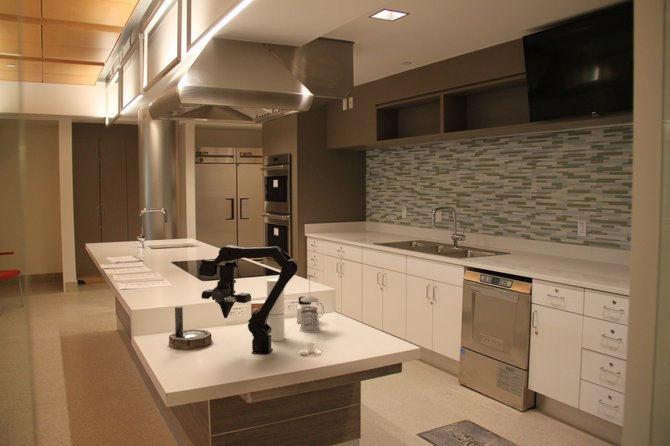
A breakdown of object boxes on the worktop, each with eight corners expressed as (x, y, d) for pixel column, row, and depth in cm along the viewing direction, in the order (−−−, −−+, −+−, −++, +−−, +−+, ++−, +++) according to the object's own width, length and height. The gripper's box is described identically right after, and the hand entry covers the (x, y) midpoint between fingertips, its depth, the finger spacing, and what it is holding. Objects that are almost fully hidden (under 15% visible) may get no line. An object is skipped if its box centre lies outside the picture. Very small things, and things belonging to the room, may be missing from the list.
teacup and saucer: (300, 357, 201) (300, 347, 201) (296, 351, 209) (296, 341, 209) (323, 355, 204) (323, 345, 203) (318, 349, 211) (318, 339, 211)
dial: (210, 341, 217) (209, 307, 217) (179, 346, 211) (178, 310, 210) (200, 334, 228) (200, 301, 227) (170, 338, 221) (170, 305, 221)
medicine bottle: (312, 323, 252) (311, 298, 251) (296, 323, 252) (296, 298, 251) (312, 319, 259) (312, 295, 258) (298, 319, 259) (298, 295, 258)
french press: (295, 328, 242) (295, 273, 241) (319, 325, 247) (318, 272, 246) (303, 333, 233) (303, 276, 232) (327, 330, 238) (327, 275, 237)
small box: (251, 332, 236) (250, 303, 235) (251, 329, 242) (251, 300, 241) (269, 331, 237) (269, 302, 236) (269, 328, 243) (269, 299, 242)
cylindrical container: (285, 336, 229) (285, 278, 228) (282, 340, 222) (282, 281, 221) (269, 335, 230) (268, 278, 229) (265, 340, 223) (264, 281, 222)
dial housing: (218, 338, 226) (218, 329, 226) (200, 350, 209) (199, 340, 209) (181, 336, 230) (181, 327, 229) (160, 347, 213) (160, 338, 213)
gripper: (194, 279, 202) (193, 319, 203) (239, 283, 197) (238, 325, 198) (209, 274, 212) (208, 313, 213) (252, 279, 207) (251, 318, 208)
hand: (225, 317), depth 208 cm, fingers closed
